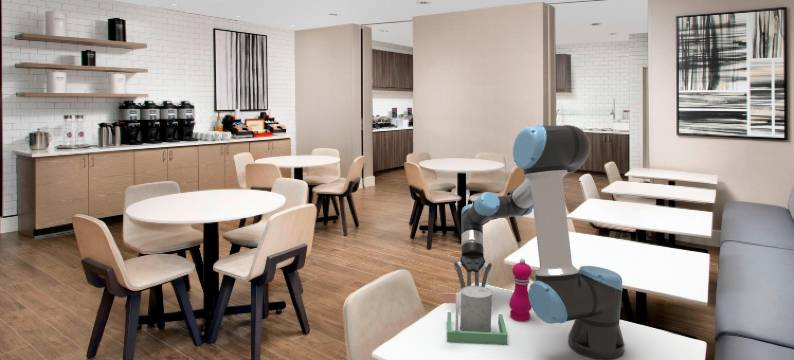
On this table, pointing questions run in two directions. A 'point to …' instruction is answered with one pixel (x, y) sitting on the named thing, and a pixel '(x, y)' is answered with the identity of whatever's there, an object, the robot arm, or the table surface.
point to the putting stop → (471, 335)
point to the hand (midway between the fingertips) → (473, 311)
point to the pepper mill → (520, 292)
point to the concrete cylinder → (476, 309)
